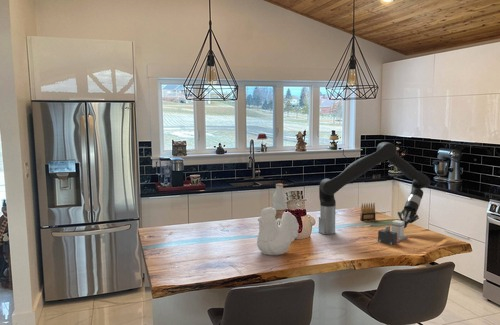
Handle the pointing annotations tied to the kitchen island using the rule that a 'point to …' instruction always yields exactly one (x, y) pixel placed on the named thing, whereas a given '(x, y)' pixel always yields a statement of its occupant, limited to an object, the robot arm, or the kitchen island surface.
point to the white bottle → (279, 201)
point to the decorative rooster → (276, 232)
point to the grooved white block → (398, 228)
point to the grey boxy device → (389, 236)
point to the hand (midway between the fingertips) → (403, 227)
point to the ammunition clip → (367, 212)
